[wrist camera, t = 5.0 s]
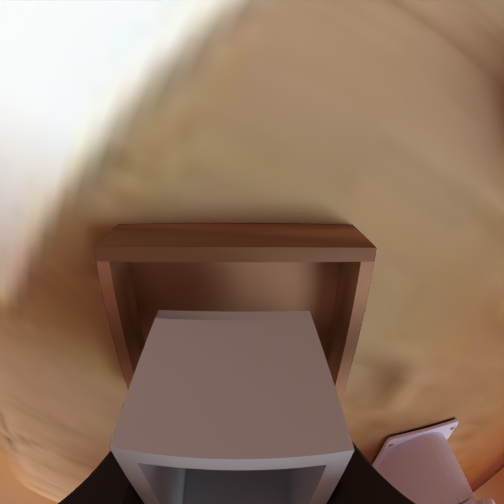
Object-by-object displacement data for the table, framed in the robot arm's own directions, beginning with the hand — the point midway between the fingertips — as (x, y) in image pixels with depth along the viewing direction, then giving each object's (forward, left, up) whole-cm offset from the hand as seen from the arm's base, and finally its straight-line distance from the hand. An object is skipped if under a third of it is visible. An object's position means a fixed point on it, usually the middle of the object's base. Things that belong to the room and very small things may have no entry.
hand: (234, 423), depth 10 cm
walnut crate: (0, 0, -7) cm, 7 cm away
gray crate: (0, 0, -2) cm, 2 cm away
